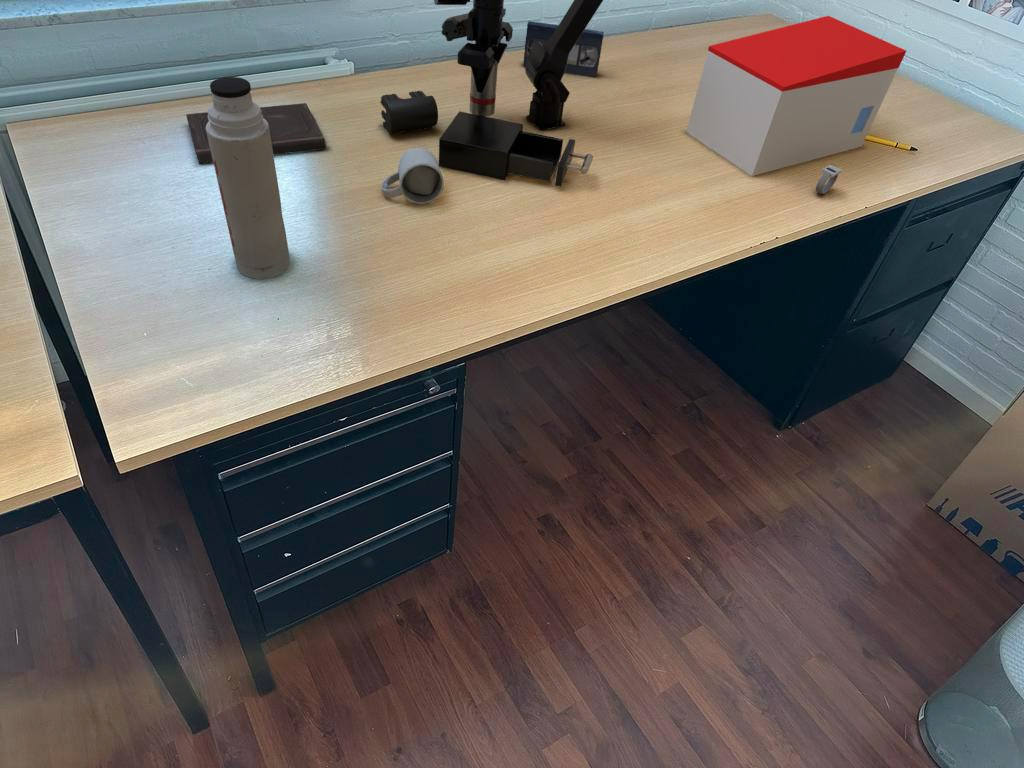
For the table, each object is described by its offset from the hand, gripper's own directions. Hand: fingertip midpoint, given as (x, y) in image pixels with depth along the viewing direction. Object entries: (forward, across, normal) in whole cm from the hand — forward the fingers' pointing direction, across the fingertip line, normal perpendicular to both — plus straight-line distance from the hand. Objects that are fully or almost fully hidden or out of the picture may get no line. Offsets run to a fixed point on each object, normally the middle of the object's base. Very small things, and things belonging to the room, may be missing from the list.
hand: (483, 87), depth 145 cm
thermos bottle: (+8, +60, -18) cm, 63 cm away
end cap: (+8, +8, -13) cm, 18 cm away
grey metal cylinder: (+5, 0, 0) cm, 5 cm away
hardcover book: (+8, +24, -38) cm, 46 cm away
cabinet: (+8, +14, +4) cm, 17 cm away
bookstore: (+8, -21, +62) cm, 66 cm away
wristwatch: (+8, -1, +71) cm, 72 cm away
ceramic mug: (+8, +32, -4) cm, 33 cm away
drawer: (+7, +14, +17) cm, 23 cm away
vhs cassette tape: (+8, -37, +10) cm, 39 cm away
